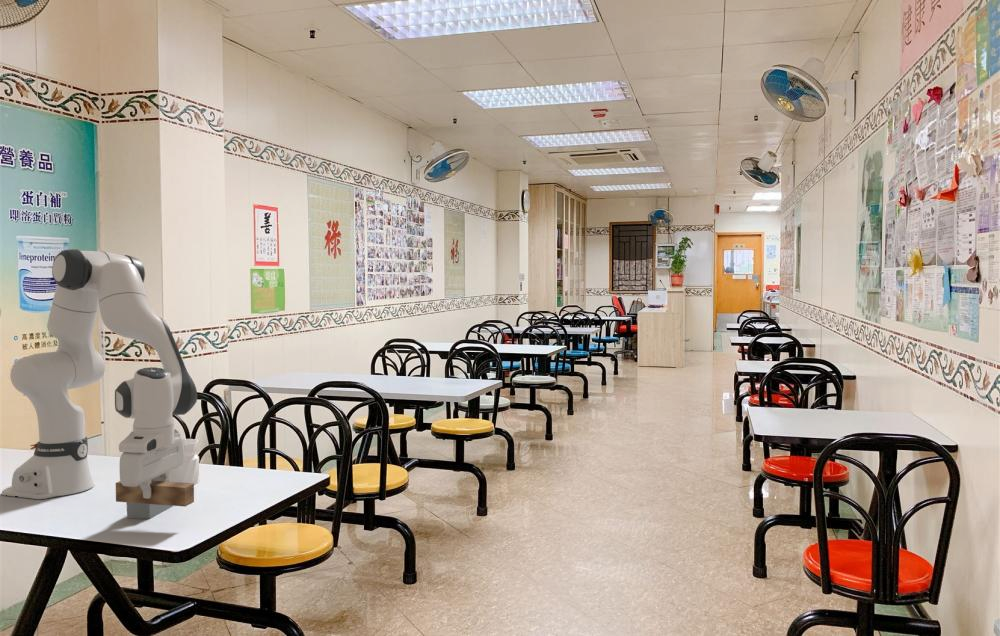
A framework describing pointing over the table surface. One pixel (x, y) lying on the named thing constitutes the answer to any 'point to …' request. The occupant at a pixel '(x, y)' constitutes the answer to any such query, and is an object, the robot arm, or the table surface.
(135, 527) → the table surface
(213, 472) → the table surface
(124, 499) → the walnut bar
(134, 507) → the ridge block
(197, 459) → the vase
